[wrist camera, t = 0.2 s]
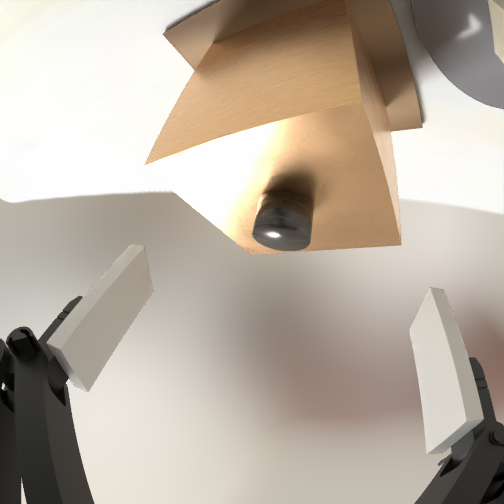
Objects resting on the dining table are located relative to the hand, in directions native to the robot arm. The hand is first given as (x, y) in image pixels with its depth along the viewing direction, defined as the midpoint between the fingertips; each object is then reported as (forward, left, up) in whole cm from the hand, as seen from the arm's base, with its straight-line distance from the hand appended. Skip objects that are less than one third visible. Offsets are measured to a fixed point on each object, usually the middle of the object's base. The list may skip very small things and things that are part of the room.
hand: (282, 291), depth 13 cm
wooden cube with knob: (-2, 0, -14) cm, 14 cm away
